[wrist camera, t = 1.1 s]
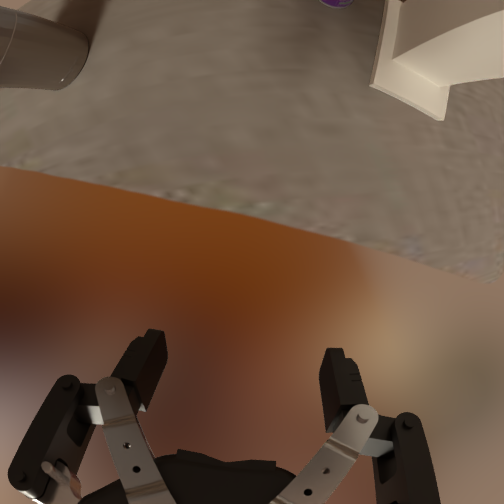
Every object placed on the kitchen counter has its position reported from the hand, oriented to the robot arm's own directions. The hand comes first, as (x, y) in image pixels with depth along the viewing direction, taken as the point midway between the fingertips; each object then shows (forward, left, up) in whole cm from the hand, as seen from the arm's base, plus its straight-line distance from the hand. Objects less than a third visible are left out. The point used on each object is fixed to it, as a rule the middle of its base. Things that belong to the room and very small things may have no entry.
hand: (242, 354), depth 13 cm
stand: (-2, +29, -21) cm, 36 cm away
